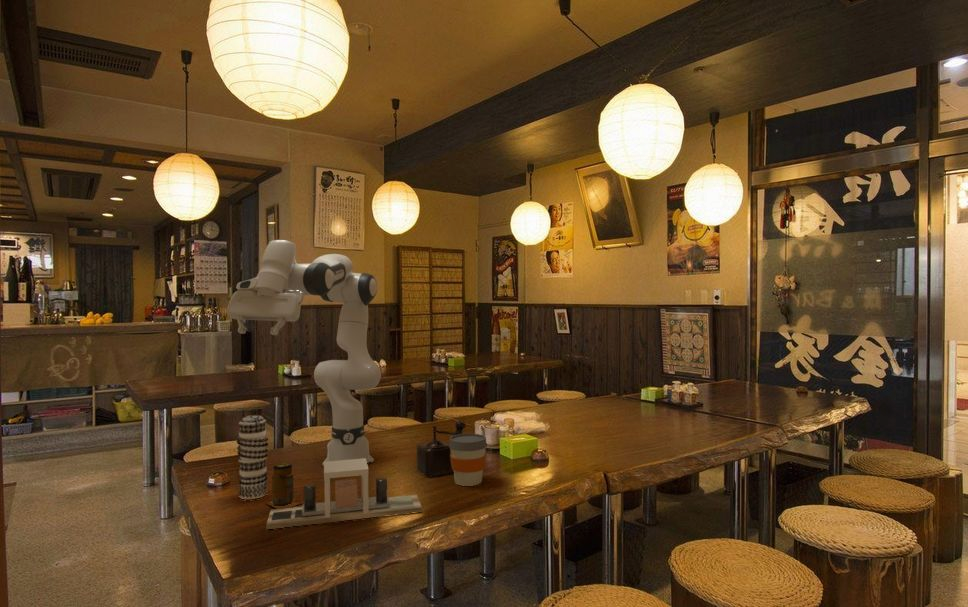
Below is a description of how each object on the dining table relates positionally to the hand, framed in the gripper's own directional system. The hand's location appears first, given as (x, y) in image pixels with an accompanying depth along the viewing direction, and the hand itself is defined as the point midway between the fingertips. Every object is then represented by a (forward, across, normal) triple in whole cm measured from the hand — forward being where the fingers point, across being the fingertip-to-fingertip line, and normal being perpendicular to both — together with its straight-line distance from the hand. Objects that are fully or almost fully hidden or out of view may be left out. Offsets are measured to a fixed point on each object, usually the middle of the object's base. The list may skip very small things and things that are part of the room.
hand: (257, 333), depth 153 cm
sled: (+40, -24, -31) cm, 56 cm away
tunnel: (+40, -24, -31) cm, 56 cm away
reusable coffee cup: (+27, -54, -58) cm, 84 cm away
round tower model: (+38, +11, -42) cm, 58 cm away
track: (+42, -24, -32) cm, 57 cm away
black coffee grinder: (+22, -43, -68) cm, 84 cm away
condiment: (+40, -2, -37) cm, 55 cm away
